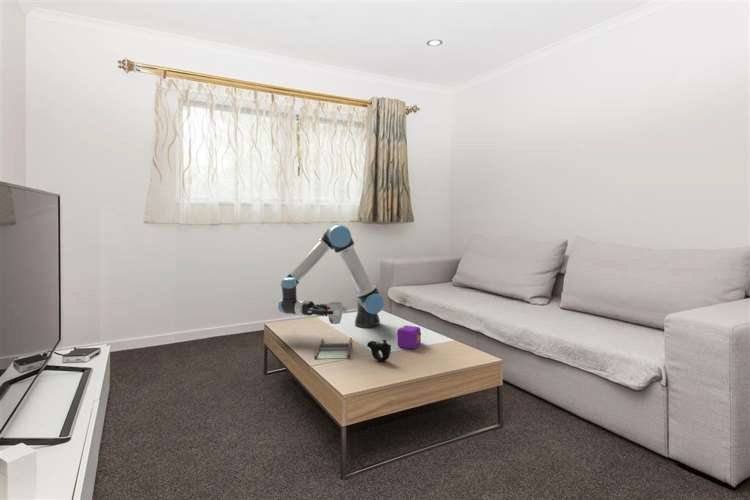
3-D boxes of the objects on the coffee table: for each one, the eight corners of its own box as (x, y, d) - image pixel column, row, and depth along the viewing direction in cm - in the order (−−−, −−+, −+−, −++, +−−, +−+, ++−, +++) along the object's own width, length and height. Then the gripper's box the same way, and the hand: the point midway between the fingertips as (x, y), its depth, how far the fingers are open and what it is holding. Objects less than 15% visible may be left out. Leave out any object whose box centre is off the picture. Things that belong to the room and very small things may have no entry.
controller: (386, 364, 184) (386, 342, 183) (366, 359, 192) (365, 337, 191) (393, 362, 187) (392, 340, 186) (372, 356, 195) (371, 335, 194)
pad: (347, 351, 203) (347, 350, 203) (346, 358, 193) (346, 357, 193) (319, 351, 203) (319, 351, 203) (316, 358, 193) (316, 358, 193)
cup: (327, 321, 219) (326, 302, 218) (343, 320, 219) (342, 301, 218) (327, 325, 211) (326, 305, 210) (343, 324, 211) (342, 305, 210)
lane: (351, 340, 220) (351, 337, 220) (349, 358, 193) (348, 355, 193) (321, 341, 220) (321, 338, 220) (314, 359, 193) (314, 355, 193)
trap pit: (348, 345, 211) (348, 343, 211) (347, 351, 203) (347, 348, 203) (321, 346, 211) (321, 343, 211) (319, 351, 203) (319, 348, 203)
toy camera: (423, 342, 215) (423, 323, 214) (417, 350, 202) (417, 330, 201) (403, 340, 218) (403, 321, 218) (396, 348, 206) (395, 328, 205)
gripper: (315, 310, 231) (352, 313, 222) (294, 319, 213) (333, 323, 204) (315, 297, 231) (352, 299, 222) (293, 305, 212) (333, 308, 203)
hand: (343, 310), depth 213 cm, fingers closed on cup, 8 cm apart
